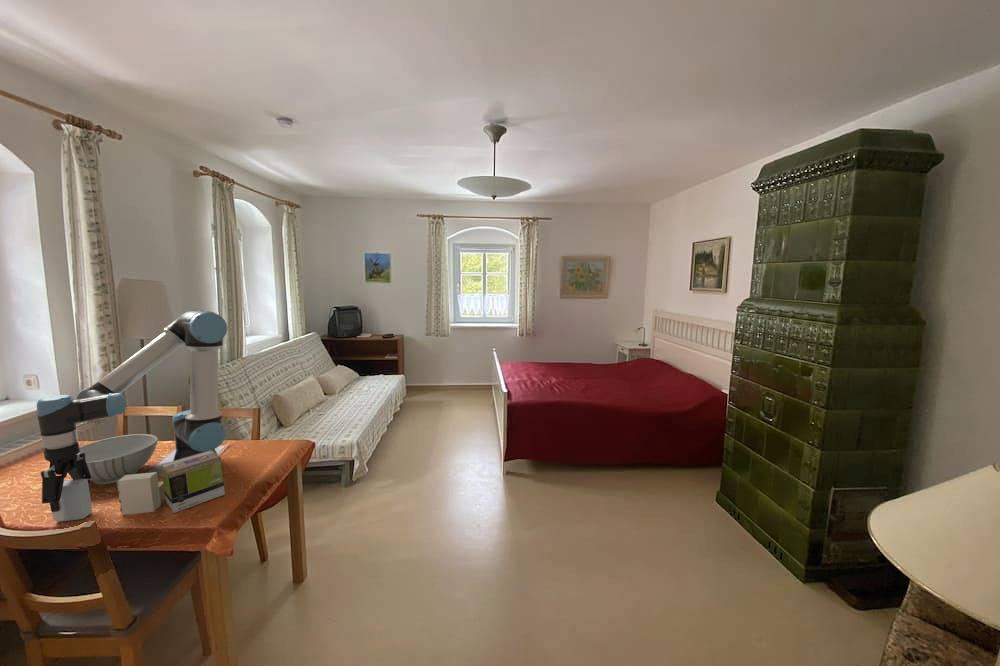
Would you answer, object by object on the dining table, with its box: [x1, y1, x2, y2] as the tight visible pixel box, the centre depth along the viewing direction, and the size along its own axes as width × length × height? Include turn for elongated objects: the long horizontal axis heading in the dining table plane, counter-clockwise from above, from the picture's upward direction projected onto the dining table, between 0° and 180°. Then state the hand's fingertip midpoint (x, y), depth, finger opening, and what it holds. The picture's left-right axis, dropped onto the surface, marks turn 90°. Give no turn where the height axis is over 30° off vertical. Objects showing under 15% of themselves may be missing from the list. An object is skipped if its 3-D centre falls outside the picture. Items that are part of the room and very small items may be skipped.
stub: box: [55, 479, 93, 523], centre depth 128 cm, size 4×7×12 cm, turn 104°
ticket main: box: [116, 471, 166, 516], centre depth 135 cm, size 9×9×12 cm
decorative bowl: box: [79, 433, 159, 485], centre depth 155 cm, size 27×27×12 cm
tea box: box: [160, 450, 226, 514], centre depth 139 cm, size 15×10×15 cm, turn 141°
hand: (71, 511), depth 129 cm, fingers open, 8 cm apart
